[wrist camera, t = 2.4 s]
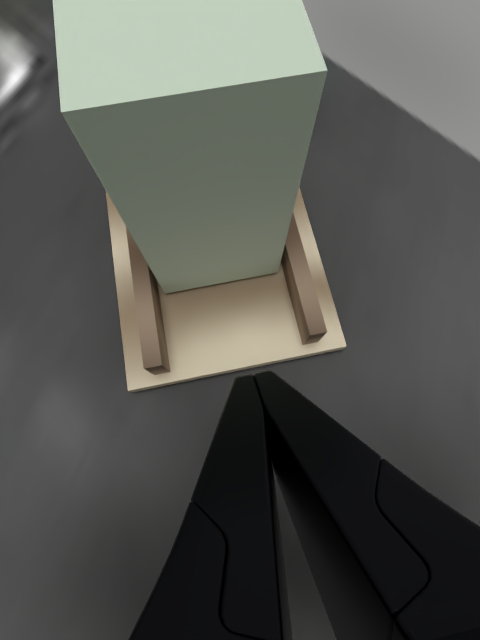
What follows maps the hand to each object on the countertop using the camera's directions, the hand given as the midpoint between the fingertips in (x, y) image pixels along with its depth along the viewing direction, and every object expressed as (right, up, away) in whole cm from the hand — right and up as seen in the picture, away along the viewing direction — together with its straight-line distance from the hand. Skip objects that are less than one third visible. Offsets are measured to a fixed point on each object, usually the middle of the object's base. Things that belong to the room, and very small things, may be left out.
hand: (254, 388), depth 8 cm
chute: (-2, +8, +13) cm, 16 cm away
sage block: (-2, +6, +11) cm, 13 cm away
